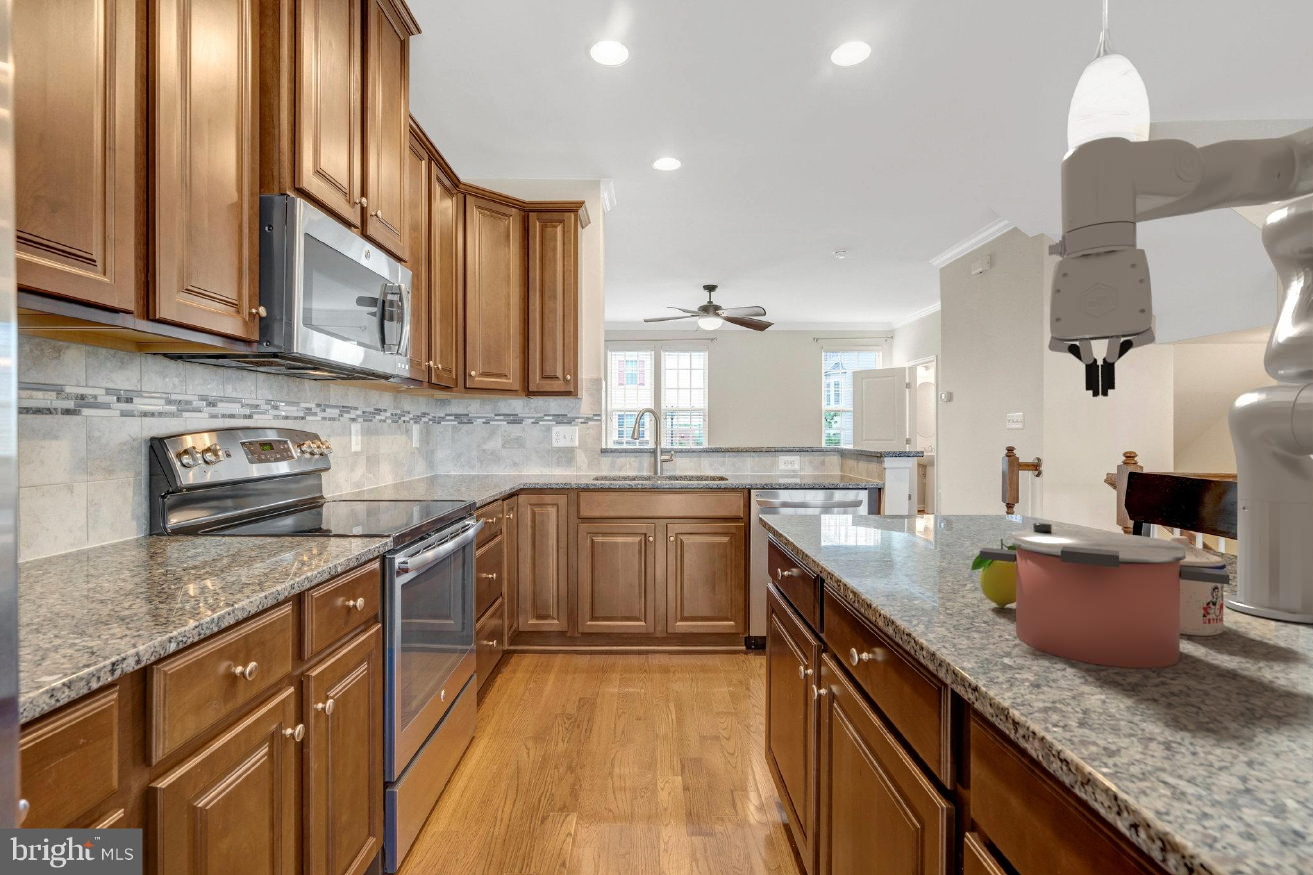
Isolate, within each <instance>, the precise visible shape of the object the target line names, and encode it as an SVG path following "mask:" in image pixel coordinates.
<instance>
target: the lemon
mask: <svg viewBox="0 0 1313 875" xmlns="http://www.w3.org/2000/svg"><path fill="white" fill-rule="evenodd" d="M1004 547H1005V548H1006V550H1016V546H1014V545H1013V544H1012V545H1005V544H1004V542H1003V538H1000V549H1004ZM980 569H981V572H980V577H979V578H980V587H981V591H982V592H983V593H982V594H983V595H984V596H985V597H986V598H987V599H988V600H989V601H991V602H993V603H995V604H996V605H997V607H998V608H1000V609H1004V608H1005V607H1007V606H1008V605H1012V604H1014V603H1015V604H1016V562H1007V561H997V560H987V559H980V553H979V554H977V555H976V556H975V558H974V559H973V561H972V564H971V569H970V571H976V570H977V571H978V570H980Z"/></svg>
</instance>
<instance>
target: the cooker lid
mask: <svg viewBox="0 0 1313 875" xmlns="http://www.w3.org/2000/svg"><path fill="white" fill-rule="evenodd" d="M1032 524H1033V526H1032V527H1033V529H1023V530H1021V529H1020V530H1016V531H1013V532H1012V533H1011V544H1012V545H1014V546H1016V547H1019V548H1022V549H1026V550H1030V551H1035V552H1040V553H1045V554H1052V555H1058V556H1061V562H1069V563H1080V564H1090V565H1100V566H1110V567H1119V561H1120V562H1147V563H1156V562H1175V561H1181V560H1184V559H1186V546H1184V545H1183V544H1180V543H1177V542H1173V541H1169V539H1167V540H1166V539H1163V538H1162V539H1161V538H1157V537H1151V536H1143V535H1135V534H1134V535H1133V534H1128V533H1120V532H1119V533H1117V532H1109V531H1108V532H1106V531H1097V530H1096V531H1094V530H1079V529H1078V530H1077V529H1053V528H1052V524H1051V523H1044V522H1035V523H1032Z"/></svg>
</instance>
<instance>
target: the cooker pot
mask: <svg viewBox="0 0 1313 875" xmlns="http://www.w3.org/2000/svg"><path fill="white" fill-rule="evenodd" d="M979 554H980V559H987V560H997V561H1007V562H1015V563H1016V602H1015V605H1016V606H1015V608H1016V609H1015V611H1016V613H1015V615H1016V616H1015V617H1016V618H1015V619H1016V620H1015V625H1016V626H1015V627H1016V628H1015V633H1016V634H1015V635H1016V636H1017V638H1018V639H1019V640H1021V642H1023V643H1025V644H1027V645H1029V646H1031V647H1033V648H1034V649H1037V650H1039V651H1042V652H1045V653H1048V654H1050V655H1051V654H1052V655H1054V656H1057V657H1062V658H1065V659H1069V660H1074V661H1079V662H1082V663H1088V664H1095V665H1101V666H1108V667H1118V668H1127V669H1129V668H1130V669H1131V668H1132V669H1156V668H1164V667H1169V666H1173V665H1176V663H1178V662H1179V661H1180V660H1181V659H1180V650H1181V649H1180V643H1181V642H1180V638H1181V637H1180V579H1181V580H1190V581H1200V582H1210V583H1219V584H1224V585H1230V574H1229V572H1228V571H1227V570H1226V569H1224V570H1219V569H1208V568H1197V567H1187V566H1180V561H1175V562H1156V563H1147V562H1120V561H1119V567H1110V566H1100V565H1090V564H1080V563H1069V562H1061V556H1058V555H1052V554H1045V553H1040V552H1035V551H1030V550H1026V549H1022V548H1019V547H1016V550H1008V549H1005V548H1003V549H1001V548H994V547H983V548H981V549H980V550H979Z"/></svg>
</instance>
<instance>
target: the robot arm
mask: <svg viewBox="0 0 1313 875" xmlns="http://www.w3.org/2000/svg"><path fill="white" fill-rule="evenodd" d="M1060 165H1061V166H1060V191H1061V192H1060V196H1061V197H1060V198H1061V200H1060V201H1061V203H1060V204H1061V206H1060V207H1061V240H1059V241H1058V242H1055V243H1053V244H1049V245H1048V256H1049V257H1050V256H1055V257H1057V256H1058V257H1059V258H1062V259H1061V260H1057V261H1056V262H1055V263H1054V267H1053V273H1052V279H1051V286H1050V298H1049V300H1050V302H1049V303H1050V304H1049V330H1050V331H1049V332H1050V334H1051V335H1050V340H1049V343H1048V346H1047V347H1048V350H1049V351H1051V352H1055V353H1062V354H1068V355H1069V354H1070V355H1071V356H1073V357H1074V358H1076V359H1077V360H1078V361H1079V362H1081V363H1082V364H1083V365H1084V370H1085V371H1084V373H1085V374H1084V377H1085V379H1084V380H1085V382H1084V383H1085V387H1084V388H1085V391H1086V392H1087V391H1090V392H1092V395H1091V396H1092V398H1098V397H1100V395H1101V397H1105V398H1107V397H1109V391H1111V390H1113V391H1115V390H1116V363H1117V361H1119V360H1120V359H1121V358H1122V357H1123V356H1125V355H1126V354H1127V353H1128V352H1129V351H1130V350H1133V349H1137V348H1140V347H1144V346H1147V345H1152V344H1153V343H1154V342H1155V340H1156V337H1155V333H1154V330H1153V326H1152V324H1153V298H1152V297H1153V295H1152V285H1151V284H1152V282H1151V275H1150V267H1149V263H1148V258H1147V254H1146V251H1145V249H1144V248H1137V247H1138V244H1137V243H1138V242H1137V241H1138V239H1137V238H1138V237H1137V233H1138V232H1137V224H1138V223H1143V222H1149V221H1153V220H1159V219H1166V218H1171V217H1172V218H1174V217H1179V216H1186V215H1188V216H1189V215H1192V214H1199V213H1205V212H1208V211H1212V210H1219V209H1231V208H1240V207H1241V208H1242V207H1251V206H1252V207H1253V206H1263V205H1271V204H1279V203H1283V202H1286V201H1290V200H1292V199H1296V198H1300V197H1303V198H1300V199H1298V200H1294V201H1292V202H1289V203H1286V204H1284V205H1282V206H1280V207H1278V208H1277V209H1275V210H1274V211H1272V212H1271V213H1270V214H1269V215H1268V216H1267V217H1266V219H1265V220H1264V222H1263V223H1262V227H1261V241H1262V244H1263V247H1264V250H1265V251H1266V253H1267V256H1268V257H1269V259H1270V262H1271V263H1272V265H1273V267H1274V268H1275V272H1276V273H1277V275H1278V277H1279V278H1280V281H1281V284H1282V285H1281V286H1282V290H1283V291H1282V293H1283V294H1282V299H1281V301H1280V302H1281V303H1280V305H1279V309H1278V311H1277V314H1276V317H1275V320H1274V323H1273V326H1272V328H1271V332H1270V334H1269V338H1268V341H1267V344H1266V347H1265V352H1264V356H1263V366H1264V370H1265V373H1266V374H1267V375H1268V376H1269V377H1270V378H1271V379H1273V380H1275V381H1277V382H1281V383H1286V384H1278V385H1277V384H1276V385H1268V386H1263V387H1259V388H1257V387H1256V388H1255V389H1250V390H1248V391H1246V392H1243V393H1242V394H1240V395H1239V396H1237V398H1235V399H1234V400H1233V402H1232V403H1231V404H1230V407H1229V409H1228V414H1227V424H1228V428H1229V434H1230V438H1231V441H1232V442H1231V443H1232V445H1233V450H1234V456H1235V463H1236V478H1237V480H1236V482H1237V487H1236V488H1237V497H1236V498H1237V515H1236V516H1237V521H1236V522H1237V524H1236V525H1237V530H1236V531H1237V534H1236V535H1237V545H1236V546H1237V547H1236V551H1237V558H1236V560H1237V563H1236V570H1237V571H1236V576H1237V577H1236V579H1237V580H1236V583H1237V585H1236V586H1237V587H1236V592H1228V593H1224V599H1223V606H1224V605H1225V606H1226V607H1227V608H1229V609H1232V610H1235V611H1238V612H1242V613H1245V614H1249V615H1252V616H1257V617H1262V618H1268V619H1272V620H1280V621H1287V622H1293V623H1305V624H1313V458H1312V456H1313V195H1312V194H1313V126H1310V127H1308V128H1304V129H1302V130H1299V131H1297V132H1294V133H1289V134H1287V135H1283V136H1281V137H1280V136H1279V137H1273V138H1269V137H1268V138H1257V139H1227V140H1222V141H1218V142H1214V143H1210V144H1207V145H1203V146H1200V147H1197V146H1196V145H1194V144H1193V143H1191V142H1189V141H1186V140H1183V139H1177V138H1165V139H1164V138H1163V139H1154V140H1153V139H1152V140H1139V141H1131V140H1130V139H1128V138H1125V137H1121V136H1113V137H1112V136H1110V137H1102V138H1097V139H1093V140H1091V141H1087V142H1084V143H1082V144H1079V145H1077V146H1075V147H1074V148H1071V150H1069V151H1068V152H1067V153H1066V154H1065V155H1064V157H1063V158H1062V161H1061V164H1060ZM1309 195H1310V196H1309ZM1304 196H1307V197H1304ZM1122 338H1123V340H1122ZM1125 338H1127V339H1125ZM1102 340H1108V341H1107V346H1106V353H1105V356H1104V357H1103V358H1102V364H1101V363H1100V364H1098V359H1097V357H1095V356H1094V351H1093V346H1092V341H1102ZM1077 342H1078V344H1077Z"/></svg>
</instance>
